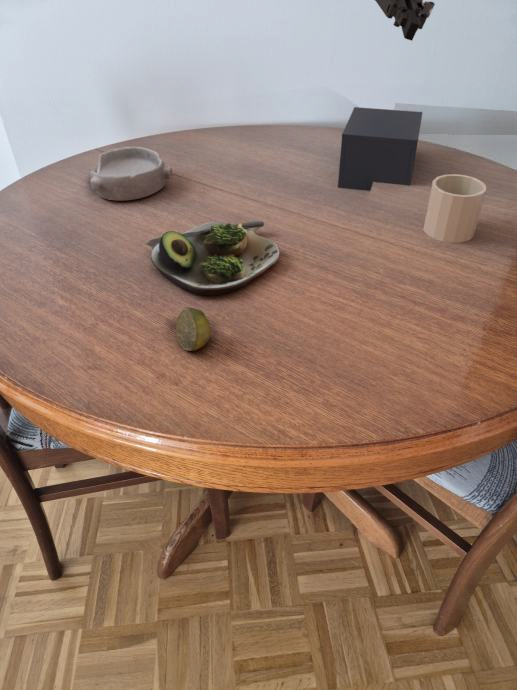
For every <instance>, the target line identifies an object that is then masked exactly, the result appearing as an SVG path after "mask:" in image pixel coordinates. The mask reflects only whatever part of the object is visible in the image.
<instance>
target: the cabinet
mask: <svg viewBox="0 0 517 690" xmlns="http://www.w3.org/2000/svg"><path fill="white" fill-rule="evenodd" d="M422 119H423V111H415V110H414V111H413V110H398V109H386V108H373V107H372V108H371V107H357V106H354V107H353V110H352V112H351V114H350V115H349V118H348V120H347V123H346V125H345V127H344V130H343V131H342V134H341V145H340V154H339V156H340V157H339V167H338V168H339V169H338V179H337V188H342V189H351V190H361V191H372V187H373V184H374V183H380V184H381V183H382V184H390V185H391V184H392V185H400V186H401V185H402V186H411V184H412V183H411V182H412V178H413V172H414V166H415V159H416V154H417V149H418V144H419V143H418V142H419V137H420V131H421V124H422Z"/></svg>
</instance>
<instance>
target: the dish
mask: <svg viewBox="0 0 517 690" xmlns="http://www.w3.org/2000/svg"><path fill="white" fill-rule="evenodd" d="M96 168H97V169H96V171H95V170H94V169H91V171H90V172H89V173H90V174H89V176H90V180H89V181H90V187H91V188H92V189H93V191H95V193H96V194H97V195H98V197H100V198H102V199H105V200H110V201H119V202H120V201H122V202H123V201H132V200H133V201H134V200H138V199H142V198H146V197H149V196H152V195H153V194H155V193H157V192H158V191H160V190H161V189H163V188H164V187H165V185H166V182H167V180H170V179H171V178H172V176H173V168H172V166H171V165H168V166H166V165H165V162H164V161H163V158H162V156H161V155H160V153H158V152H156V151H155V150H153V149H150V148H146V147H143V146H125V147H119V148H113V149H110V150H108V151H105V152H102V153H100V154H99V156H98V160H97V167H96Z"/></svg>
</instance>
